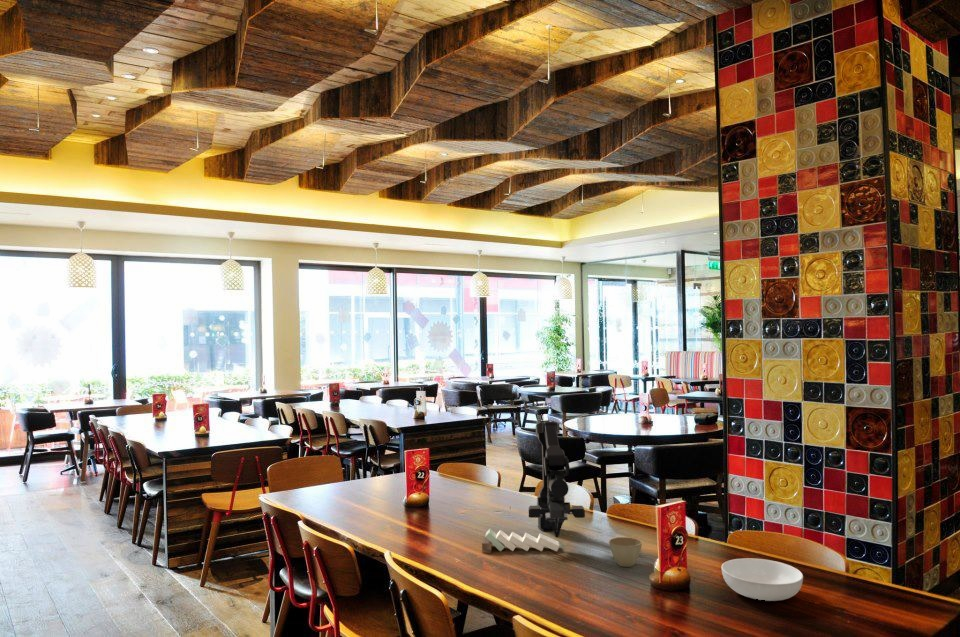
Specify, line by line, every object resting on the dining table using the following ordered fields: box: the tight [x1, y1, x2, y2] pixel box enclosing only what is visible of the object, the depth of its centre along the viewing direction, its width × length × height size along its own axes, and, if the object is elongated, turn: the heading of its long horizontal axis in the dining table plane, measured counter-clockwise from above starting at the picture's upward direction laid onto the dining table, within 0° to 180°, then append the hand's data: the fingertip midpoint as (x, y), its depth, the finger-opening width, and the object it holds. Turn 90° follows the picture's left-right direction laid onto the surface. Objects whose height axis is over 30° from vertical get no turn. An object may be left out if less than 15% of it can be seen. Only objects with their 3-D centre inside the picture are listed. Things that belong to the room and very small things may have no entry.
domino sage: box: [484, 528, 506, 553], centre depth 239 cm, size 2×5×7 cm
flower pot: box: [608, 536, 643, 568], centre depth 221 cm, size 10×10×7 cm
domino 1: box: [496, 529, 517, 552], centre depth 239 cm, size 2×5×7 cm
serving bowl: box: [720, 557, 804, 602], centre depth 194 cm, size 21×21×7 cm
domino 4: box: [536, 533, 560, 552], centre depth 238 cm, size 2×5×7 cm
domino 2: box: [508, 531, 531, 552], centre depth 239 cm, size 2×5×7 cm
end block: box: [481, 536, 493, 553], centre depth 239 cm, size 3×8×3 cm, turn 176°
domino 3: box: [522, 532, 545, 552], centre depth 238 cm, size 2×5×7 cm
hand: (556, 537), depth 238 cm, fingers closed
